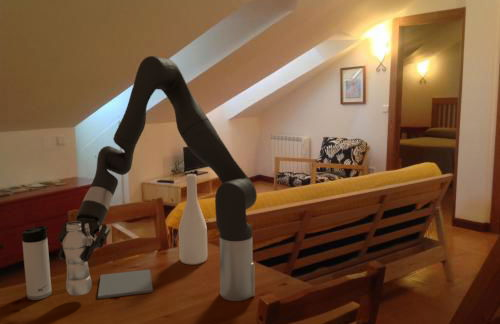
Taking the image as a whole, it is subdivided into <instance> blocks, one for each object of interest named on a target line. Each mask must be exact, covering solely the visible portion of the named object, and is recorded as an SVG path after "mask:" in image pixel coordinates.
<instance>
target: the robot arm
mask: <svg viewBox="0 0 500 324" xmlns="http://www.w3.org/2000/svg"><path fill="white" fill-rule="evenodd" d="M133 82H134V83H133V85H132V89H131V91H130V95H129V99H128V103H127V106H126V108H125V111H124V114H123V115H122V118H121V121H120V123H119V124H118V126H117V129H116V130H115V133H114V136H113V137H112V138H113V142H114V144H115V145H117V146H118V147H119V148H121V149H122V150H123V151H122V150H120V149H118V148H116V147H112V146H110V145H105V146H104V147H102V148H101V149H100V150H99V152H98V154H97V158H96V159H97V160H96V170H95V173H94V174H95V175H94V178H93V180H92V183H91V184H90V187H89V189H88V191H87V192H86V194H85V196H84V198H83V200H82V202H81V204H80V207H79V209H78V211H77V213H76V219H75V221H79V222H81V226H82V230H81V231H82V232H83V233H84V234H85V236H86V238H87V241H88V242H87V245H88V246H86V248H85V250H84V252H83V255H82V257H81V260H82V261H84V262H87V261H90V259H91V257H92V254H93V252H94V250H96V249H97V248H99V249H100V248H101V249H102V247H103V245H104V243H105V241H106V239H107V238H108V235H109V233H110V232H111V229H110V228H109V227H108V226H107V225H106V224H104V221H105V220H106V217H107V213H108V211H109V210H110V207H111V204H112V200H113V197H114V194H115V193H116V190H117V188H118V184H119V179H118V178H117V177H116V176H115V175H113V174H112V173H115V174H117V175H120V176H123V175H126V174H128V173H129V172H130V171H131V169H132V166H133V158H134V153H135V149H136V146H137V144H138V142H139V139H140V138H141V136H142V133H143V132H144V129H145V127H146V122H147V107H148V104H149V101H150V99H151V98H152V96H153V95H154V93H155V91H156V90H161V91H162V92H163V93H164V95H166V98H167V99H168V100H169V102H170V104H171V105H172V108H173V110H174V113H175V114H174V116H175V123H176V128H177V131H178V133H179V135H180V137H181V138H182V140H183V142H184V143H185V144H186V146H187V148H188V149H189V151H190V152H191V153H192V154H193V155H194V156H195V157H196V158H197V159H199V160H200V161H202V163H203V164H205V165H206V166H207V167H208V168H210V169H211V170H212V171H213V172H214V174H215V175H216V176H217V178H218V179H219V180H220V182H221V184H220V185H219V186H218V188H217V189H216V192H215V197H214V198H215V199H214V201H215V202H214V204H215V205H214V206H215V219H216V220H215V223H216V227H217V230H218V232H219V282H220V283H219V286H220V287H219V289H220V290H219V291H220V296H221V298H223V299H224V300H227V301H231V302H241V301H246V300H247V299H249V298H251V297H255V296H256V295H255V293H256V292H255V291H256V290H255V286H256V285H255V282H256V279H255V274H256V273H255V269H256V268H255V265H256V264H255V263H254V261H253V226H252V225H251V224H249V223H248V222H247V210H248V209H250V208H252V207H253V206H254V205H255V203H256V202H257V198H258V195H257V194H258V193H257V190H256V186H255V185H254V183H253V182H252V180H251V179H250V177H248V175H247V174H246V173H245V172H244V170H243V169H242V168H241V167H240V165H239V163H237V162H236V160H235V159H234V157H233V156H232V154H231V153H230V151H229V149H228V148H227V146H226V144H225V143H224V141H223V140H222V139H221V137H220V136H219V134H218V132H217V131H216V128H215V127H214V126H213V124H212V122H211V121H210V119H209V118H208V116H207V115H206V113H205V112H204V110H203V108H202V107H201V106H200V104H199V102H198V101H197V99H196V98H195V96H194V95H193V93H192V92H191V90H190V87H189V86H188V84H187V82H186V80H185V77H184V76H183V73H182V72H181V69H180V68H179V66H178V64H176V62H175V61H173V60H171V59H170V58H167V57H161V56H158V55H157V56H155V55H153V56H152V55H150V56H146V57H144V58H143V60H142V61H141V62H140V64H139V65H138V68H137V71H136V75H135V79H134V81H133ZM111 172H112V173H111ZM67 223H68V221H65V222H63V223H62V227H61V230H60V232H59V235H58V237H57V241H58V242H59V243H60V244H61V247H60V250H59V251H58V258H59V259H60V260H62V261H66V257H65V253H64V249H63V245H62V243H63V239H64V238H65V236H66V235H67V233H68V231H67ZM96 234H97V236H96Z"/></svg>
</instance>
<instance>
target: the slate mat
mask: <svg viewBox="0 0 500 324" xmlns="http://www.w3.org/2000/svg"><path fill="white" fill-rule="evenodd" d="M148 293H153V283H152V275H151V269H143V270H141V269H140V270H134V271H133V270H132V271H131V270H130V271H124V272H115V273H106V274H100V277H99V285H98V293H97V299H98V300H99V299H108V298H116V297H123V296H124V297H125V296H132V295H139V294H148Z"/></svg>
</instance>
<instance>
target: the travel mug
mask: <svg viewBox="0 0 500 324" xmlns="http://www.w3.org/2000/svg"><path fill="white" fill-rule="evenodd" d="M47 230H48V226H45V225H44V226H43V225H42V226H34V227H31V228H27V229H25V231H22V232H21V236H22V237H21V238H22V240H21V241H22V253H23V264H24V276H25V277H24V278H25V285H26V286H25V287H26V296H27V297H26V298H27V299H28V300H32V301H38V300H43V299H45V298H48V297H50V296H51V294H52V282H51V280H52V279H51V269H50V267H51V265H50V256H49V244H48V243H49V242H48V233H47Z"/></svg>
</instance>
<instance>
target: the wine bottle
mask: <svg viewBox="0 0 500 324" xmlns="http://www.w3.org/2000/svg"><path fill="white" fill-rule="evenodd" d="M185 181H186V201H185V205H184V207H183V208H184V209H183V212H182V216H181V218H180V221H179V226H178V249H179V260H180V262H181V263H183V264H185V265H190V266H191V265H194V266H195V265H200V264H202V263H205V261H207V259H208V227H207V223H206V220H205V217H204V214H203V211H202V209H201V205H200V202H199V199H198V188H197V181H198V176H197V174H195V173H188V174H186V176H185Z"/></svg>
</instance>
